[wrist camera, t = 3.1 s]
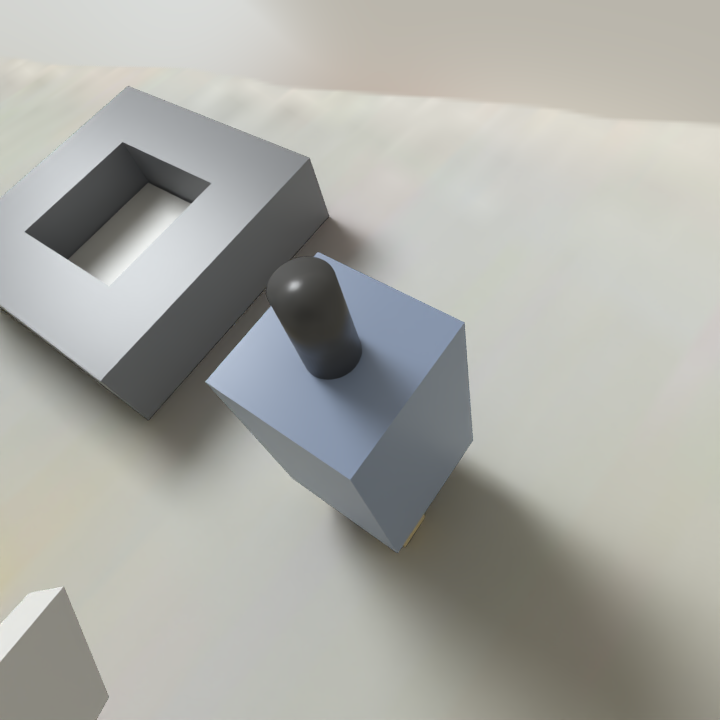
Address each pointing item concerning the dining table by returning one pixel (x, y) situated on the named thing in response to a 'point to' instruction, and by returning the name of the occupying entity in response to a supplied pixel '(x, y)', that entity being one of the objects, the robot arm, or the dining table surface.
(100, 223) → the socket
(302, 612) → the dining table surface
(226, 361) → the plug
